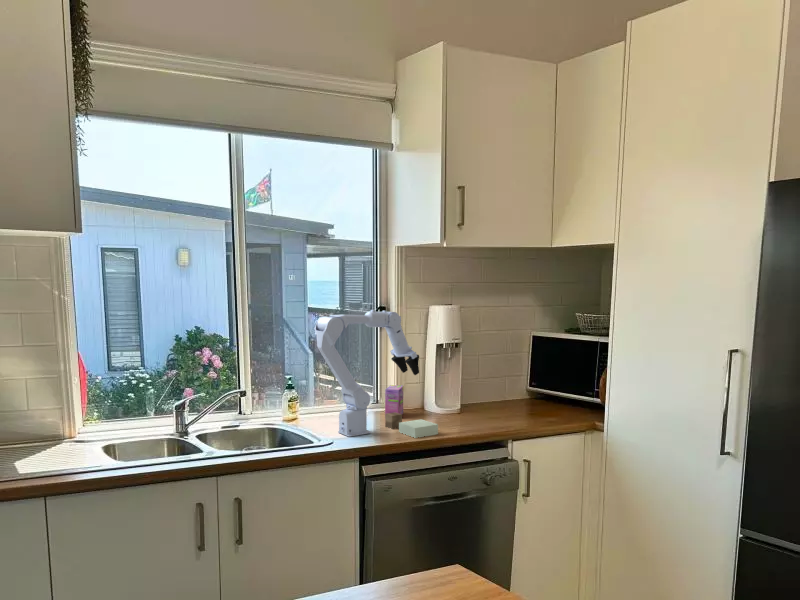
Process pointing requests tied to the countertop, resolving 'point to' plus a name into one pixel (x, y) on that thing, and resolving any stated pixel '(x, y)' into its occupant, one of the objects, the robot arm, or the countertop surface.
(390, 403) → the box
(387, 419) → the walnut block
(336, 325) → the robot arm
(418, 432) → the base block
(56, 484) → the countertop surface
